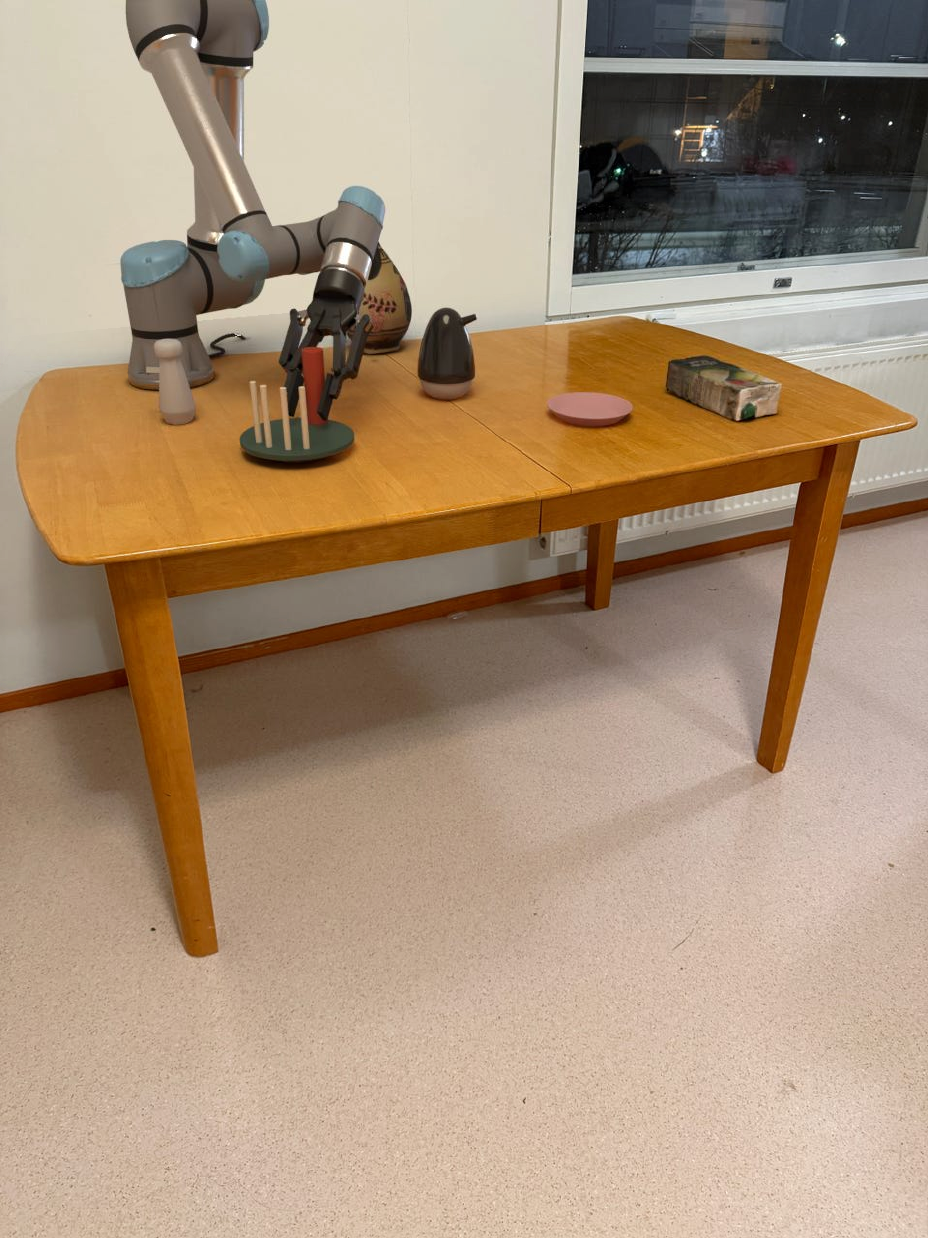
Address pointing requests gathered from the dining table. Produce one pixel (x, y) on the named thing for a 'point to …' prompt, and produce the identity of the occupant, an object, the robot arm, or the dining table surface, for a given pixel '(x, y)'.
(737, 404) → the juice carton
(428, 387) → the pump dispenser
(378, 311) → the ceramic jug
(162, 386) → the salt shaker
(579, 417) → the plate
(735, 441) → the dining table surface
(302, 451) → the drying rack
